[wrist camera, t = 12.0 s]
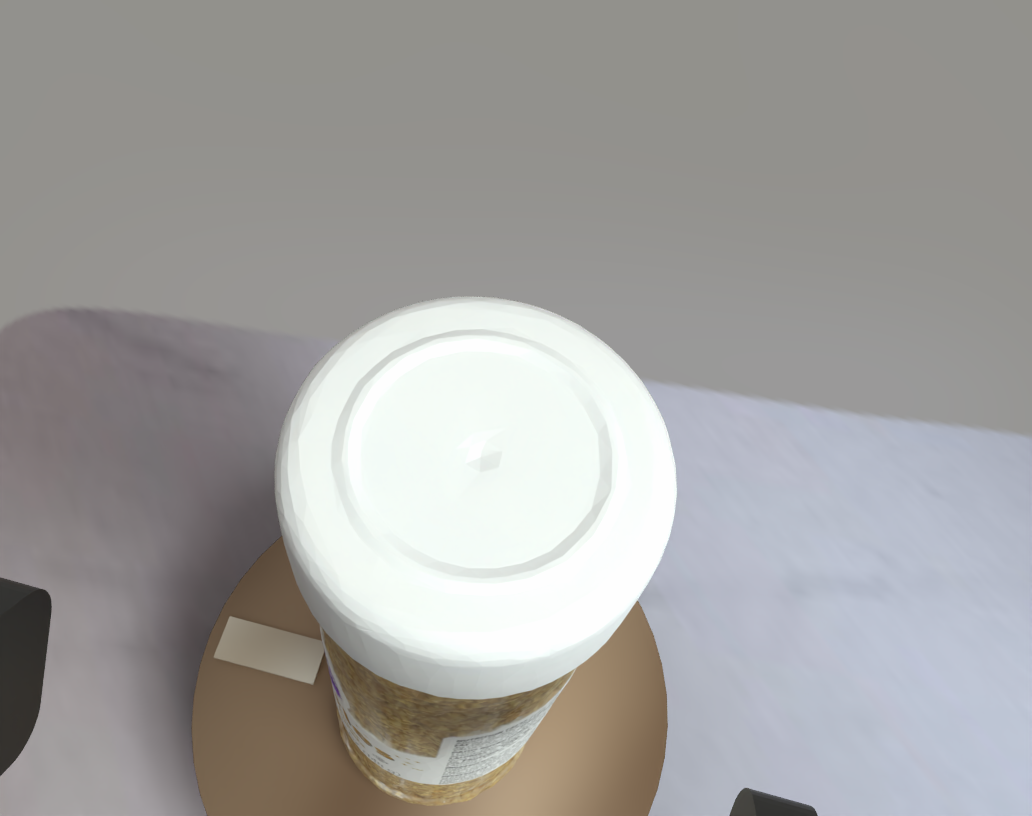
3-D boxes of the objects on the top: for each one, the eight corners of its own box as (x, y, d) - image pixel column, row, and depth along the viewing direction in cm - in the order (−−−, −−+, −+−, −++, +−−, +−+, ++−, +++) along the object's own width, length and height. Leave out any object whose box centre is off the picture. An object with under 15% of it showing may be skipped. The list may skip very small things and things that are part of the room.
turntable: (684, 560, 26) (699, 539, 25) (607, 1025, 21) (622, 1033, 19) (297, 458, 26) (291, 432, 25) (126, 890, 21) (105, 887, 20)
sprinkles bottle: (307, 661, 22) (205, 360, 11) (480, 579, 24) (560, 232, 12) (389, 852, 21) (375, 745, 9) (571, 750, 22) (768, 542, 10)
